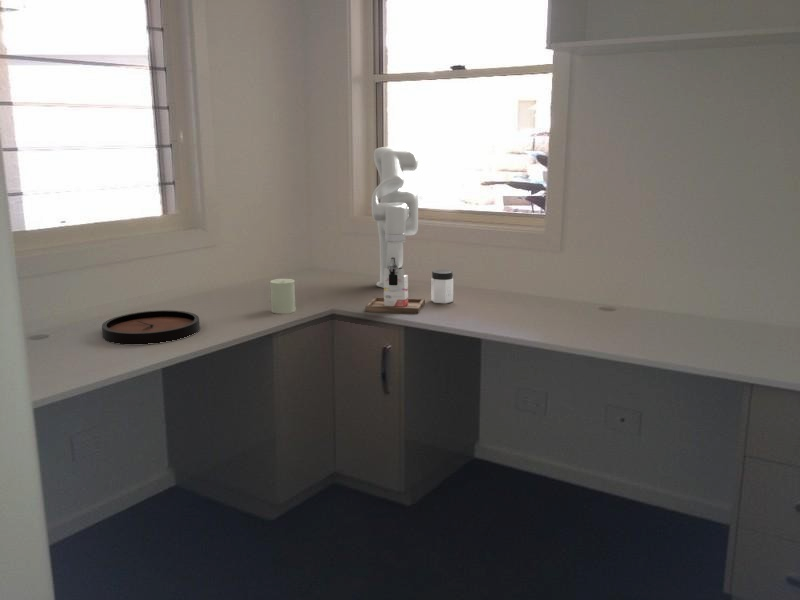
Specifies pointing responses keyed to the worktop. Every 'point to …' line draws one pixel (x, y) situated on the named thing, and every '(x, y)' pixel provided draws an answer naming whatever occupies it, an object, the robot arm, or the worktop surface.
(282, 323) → the worktop surface
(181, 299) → the worktop surface
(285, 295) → the can
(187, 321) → the wall clock
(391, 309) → the tray
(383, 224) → the robot arm
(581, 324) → the worktop surface
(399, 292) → the ink cartridge box
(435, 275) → the jar
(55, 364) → the worktop surface
